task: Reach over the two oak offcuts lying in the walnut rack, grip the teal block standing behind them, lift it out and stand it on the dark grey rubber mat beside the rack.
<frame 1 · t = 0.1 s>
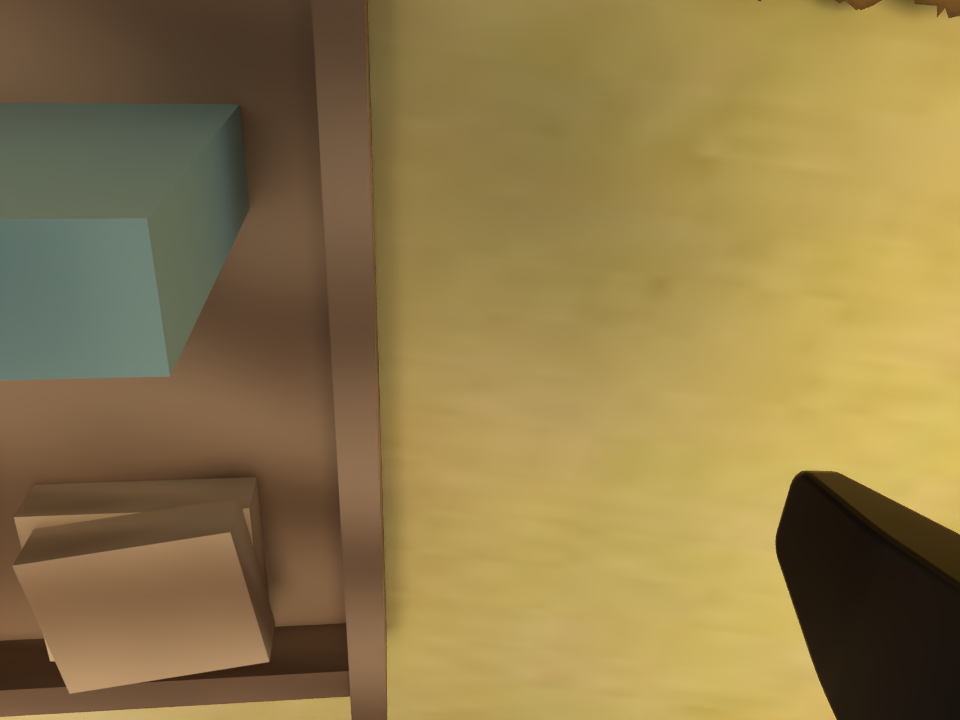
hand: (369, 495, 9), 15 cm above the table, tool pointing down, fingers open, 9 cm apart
offcut a: (158, 553, 26), point 1 cm above the table, touching offcut b, rack
teal block: (92, 157, 21), point 1 cm above the table, touching rack
offcut b: (159, 578, 24), point 2 cm above the table, touching offcut a
rack: (121, 288, 23), on the table
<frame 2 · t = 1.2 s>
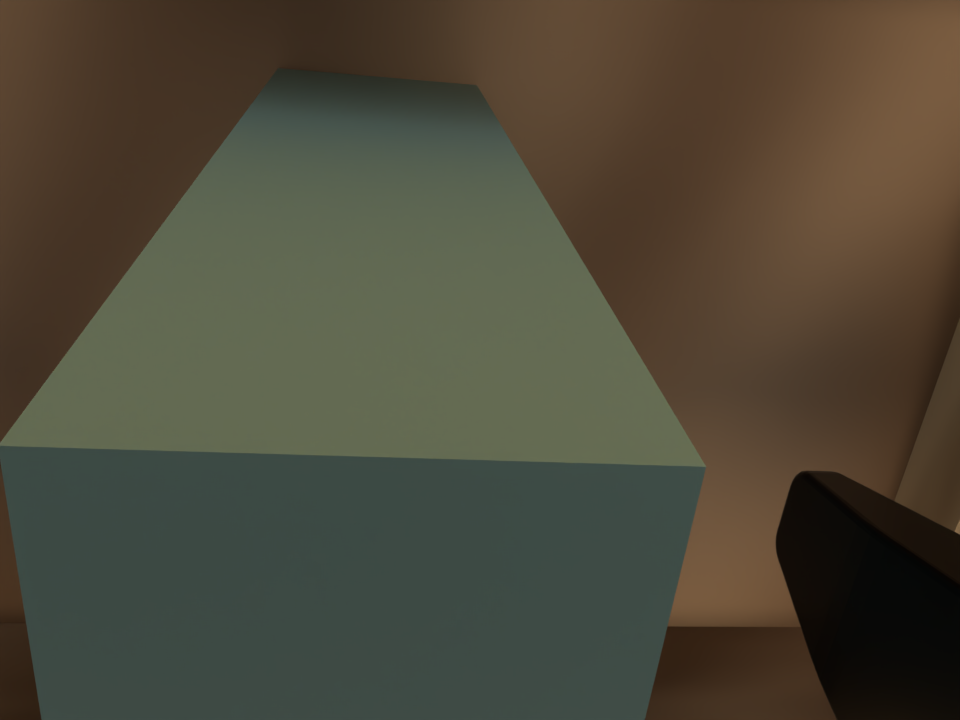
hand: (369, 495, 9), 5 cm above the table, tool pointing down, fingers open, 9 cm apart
teal block: (367, 329, 13), point 1 cm above the table, touching rack
rack: (595, 324, 14), on the table
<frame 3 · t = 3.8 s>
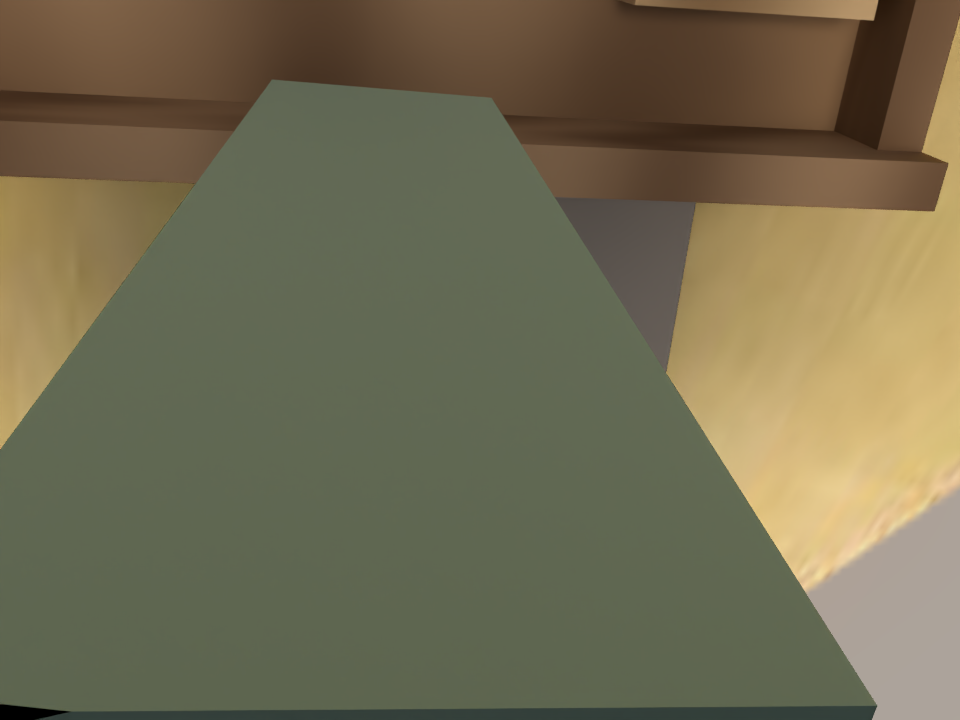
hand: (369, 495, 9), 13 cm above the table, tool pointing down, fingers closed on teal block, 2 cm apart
teal block: (370, 363, 12), point 10 cm above the table, touching gripper
mat: (472, 348, 23), on the table
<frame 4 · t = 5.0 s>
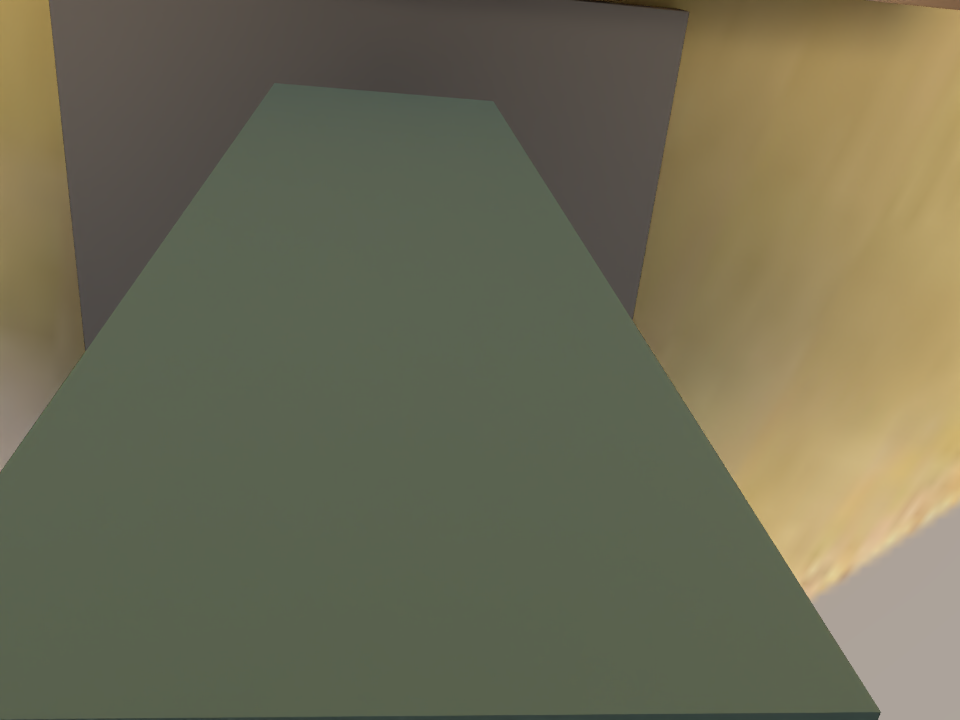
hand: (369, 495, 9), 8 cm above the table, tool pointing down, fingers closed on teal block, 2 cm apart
teal block: (372, 365, 12), point 5 cm above the table, touching gripper
mat: (369, 244, 16), on the table
when the fingers open (5 cm above the table, at t = 5.8 s): teal block stays where it is, resting on mat.
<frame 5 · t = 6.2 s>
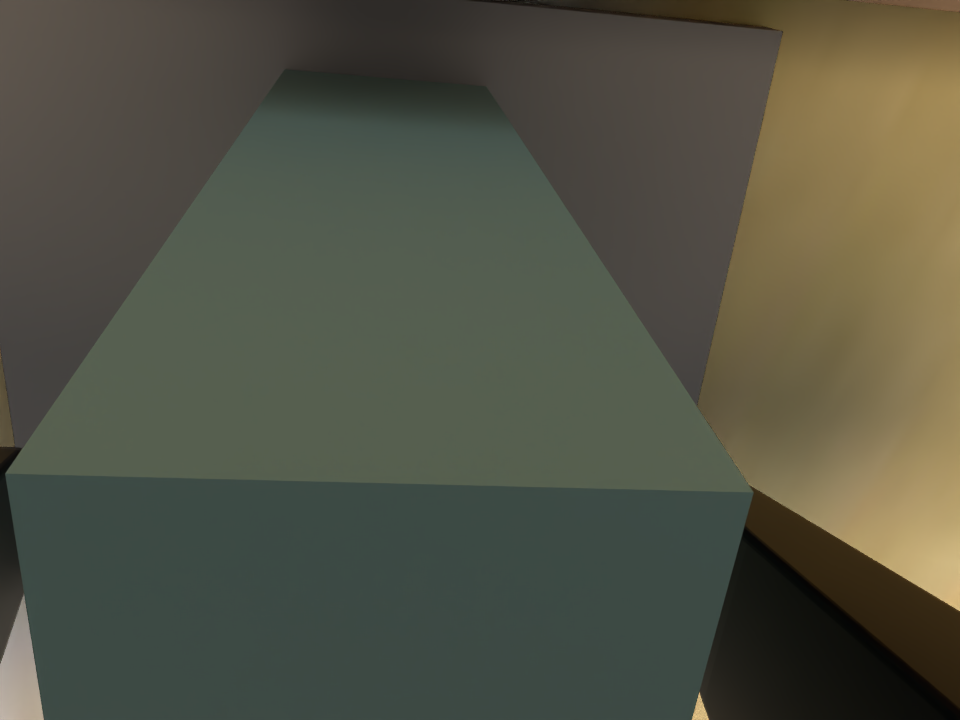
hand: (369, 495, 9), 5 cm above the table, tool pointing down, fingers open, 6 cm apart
teal block: (374, 334, 13), point 1 cm above the table, touching mat
mat: (371, 318, 13), on the table
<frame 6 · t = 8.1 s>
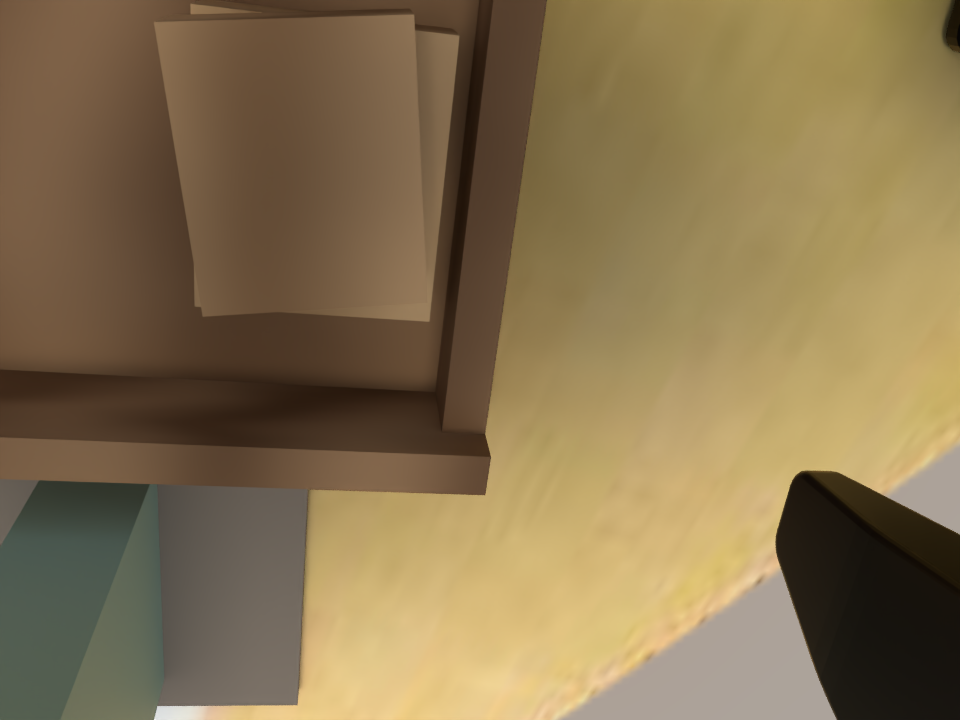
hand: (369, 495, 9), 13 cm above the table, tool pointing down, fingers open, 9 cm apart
offcut a: (323, 160, 19), point 1 cm above the table, touching offcut b, rack
teal block: (110, 578, 23), point 1 cm above the table, touching mat
offcut b: (306, 156, 18), point 2 cm above the table, touching offcut a
mat: (114, 564, 24), on the table
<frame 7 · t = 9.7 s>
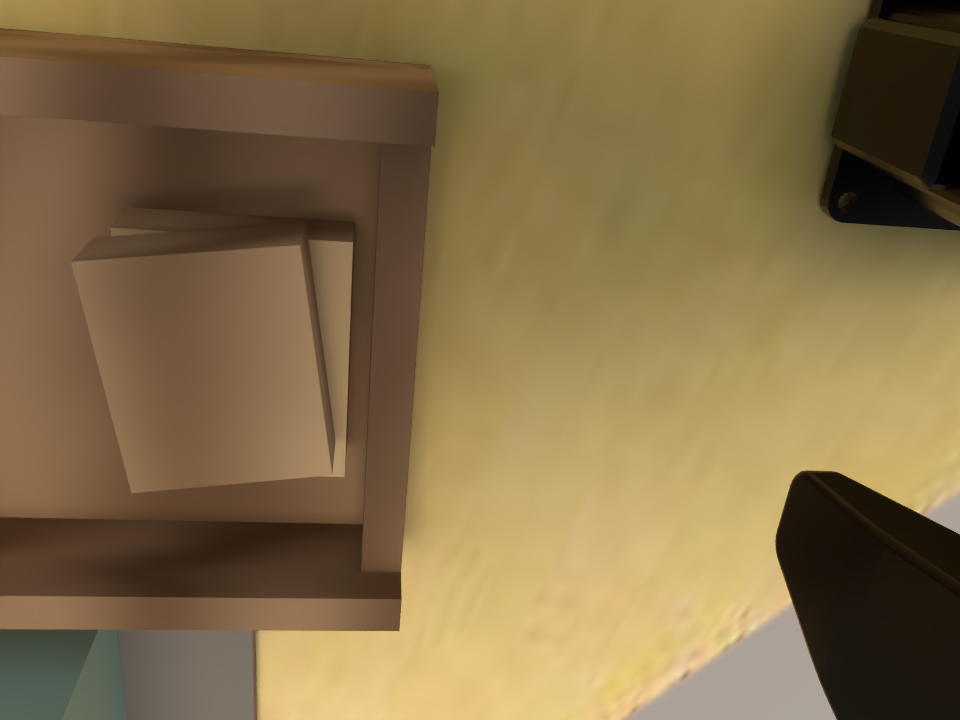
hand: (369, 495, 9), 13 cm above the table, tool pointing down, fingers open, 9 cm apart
offcut a: (246, 335, 21), point 1 cm above the table, touching offcut b, rack
teal block: (78, 687, 26), point 1 cm above the table, touching mat
offcut b: (222, 345, 20), point 2 cm above the table, touching offcut a
mat: (82, 672, 26), on the table
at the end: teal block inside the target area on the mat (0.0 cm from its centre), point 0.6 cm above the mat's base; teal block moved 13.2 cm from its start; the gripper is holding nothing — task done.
